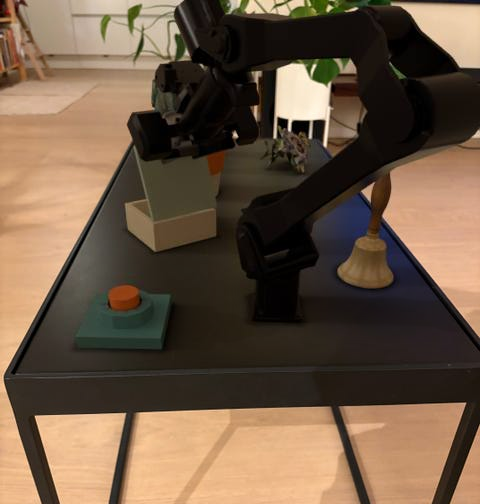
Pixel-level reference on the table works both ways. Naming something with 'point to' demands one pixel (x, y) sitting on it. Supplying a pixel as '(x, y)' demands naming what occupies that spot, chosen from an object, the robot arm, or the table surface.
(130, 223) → the shallow tan tray
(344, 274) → the hand bell
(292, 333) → the table surface
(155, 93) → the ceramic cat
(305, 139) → the passion flower
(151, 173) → the lid
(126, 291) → the button
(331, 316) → the table surface
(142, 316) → the control box
